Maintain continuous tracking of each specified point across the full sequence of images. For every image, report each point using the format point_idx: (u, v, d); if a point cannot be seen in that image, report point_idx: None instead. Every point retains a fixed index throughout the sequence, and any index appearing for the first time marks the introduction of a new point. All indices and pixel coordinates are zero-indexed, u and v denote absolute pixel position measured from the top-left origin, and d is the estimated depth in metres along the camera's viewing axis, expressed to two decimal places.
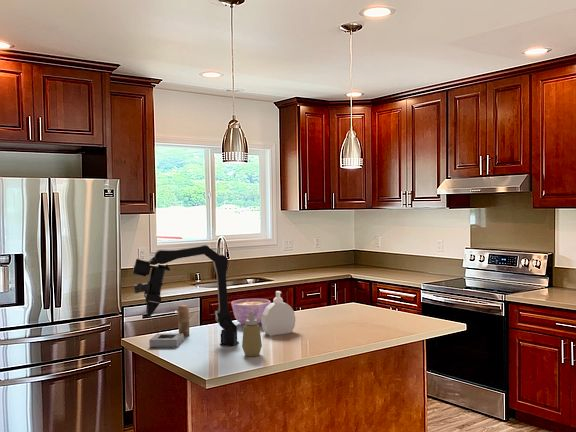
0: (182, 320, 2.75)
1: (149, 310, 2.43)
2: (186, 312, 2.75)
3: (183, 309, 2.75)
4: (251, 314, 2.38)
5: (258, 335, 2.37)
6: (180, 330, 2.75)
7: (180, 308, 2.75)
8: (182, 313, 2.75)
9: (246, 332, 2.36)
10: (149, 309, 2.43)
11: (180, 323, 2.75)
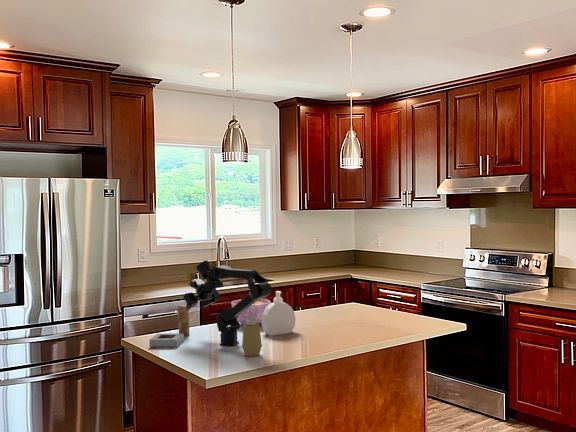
0: (182, 320, 2.75)
1: (187, 306, 2.66)
2: (186, 312, 2.75)
3: (183, 309, 2.75)
4: (251, 314, 2.38)
5: (258, 335, 2.37)
6: (180, 330, 2.75)
7: (180, 308, 2.75)
8: (182, 313, 2.75)
9: (246, 332, 2.36)
10: (187, 305, 2.66)
11: (180, 323, 2.75)
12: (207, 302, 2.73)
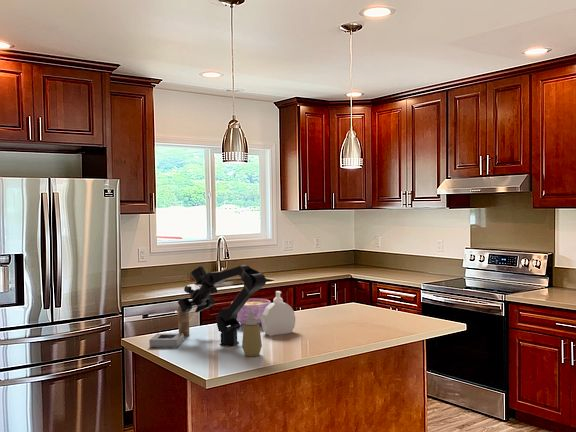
0: (182, 320, 2.75)
1: (181, 311, 2.69)
2: None
3: None
4: (251, 314, 2.38)
5: (258, 335, 2.37)
6: (180, 330, 2.75)
7: (180, 308, 2.75)
8: None
9: (246, 332, 2.36)
10: (181, 310, 2.69)
11: (180, 323, 2.75)
12: (202, 307, 2.76)
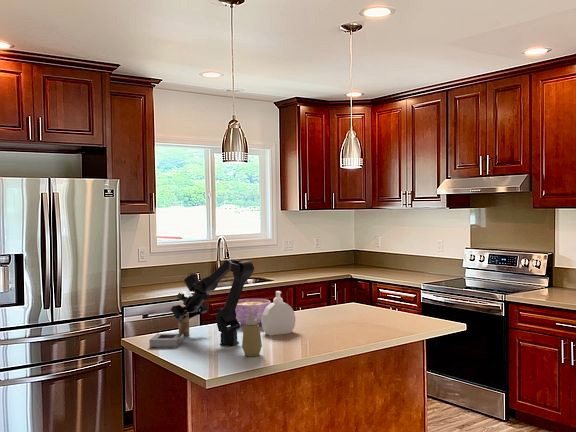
0: (182, 320, 2.75)
1: None
2: None
3: None
4: (251, 314, 2.38)
5: (258, 335, 2.37)
6: (180, 330, 2.75)
7: None
8: None
9: (246, 332, 2.36)
10: None
11: (180, 323, 2.75)
12: (192, 314, 2.78)
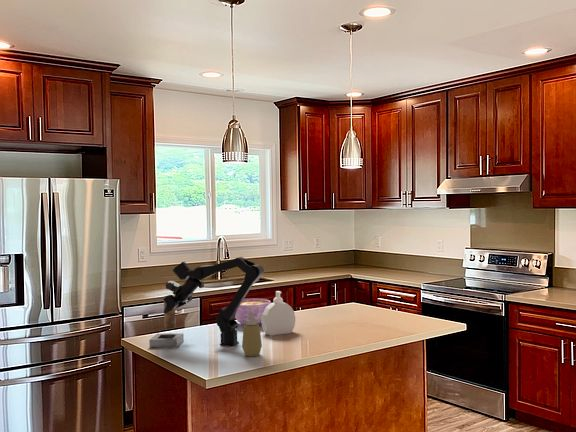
0: None
1: (166, 308, 2.62)
2: None
3: None
4: (251, 314, 2.38)
5: (258, 335, 2.37)
6: (168, 321, 2.64)
7: None
8: None
9: (246, 332, 2.36)
10: (166, 307, 2.62)
11: (168, 314, 2.64)
12: (177, 305, 2.68)
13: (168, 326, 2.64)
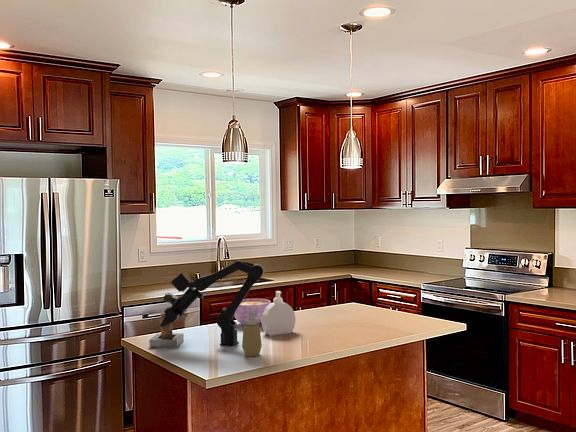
0: (168, 327, 2.58)
1: (164, 321, 2.55)
2: None
3: None
4: (251, 314, 2.38)
5: (258, 335, 2.37)
6: None
7: None
8: None
9: (246, 332, 2.36)
10: (164, 320, 2.55)
11: (166, 331, 2.58)
12: None
13: None
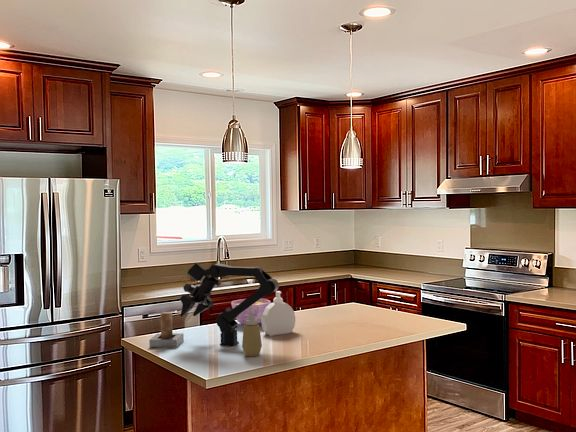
0: (168, 327, 2.58)
1: (182, 310, 2.58)
2: (171, 319, 2.60)
3: (169, 316, 2.58)
4: (251, 314, 2.38)
5: (258, 335, 2.37)
6: None
7: (166, 315, 2.58)
8: (168, 320, 2.58)
9: (246, 332, 2.36)
10: (182, 309, 2.58)
11: (166, 331, 2.58)
12: (200, 309, 2.66)
13: None
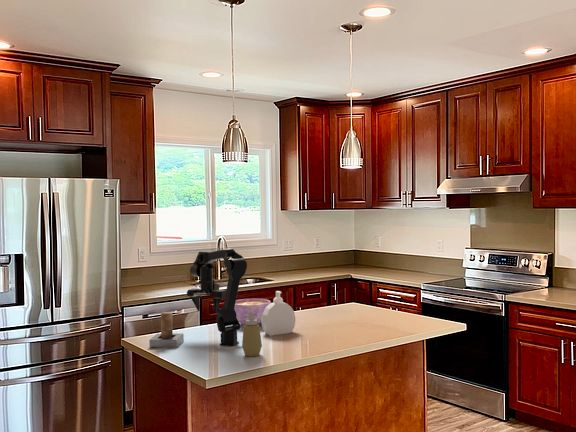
0: (168, 327, 2.58)
1: None
2: (171, 319, 2.60)
3: (169, 316, 2.58)
4: (251, 314, 2.38)
5: (258, 335, 2.37)
6: None
7: (166, 315, 2.58)
8: (168, 320, 2.58)
9: (246, 332, 2.36)
10: None
11: (166, 331, 2.58)
12: None
13: None
